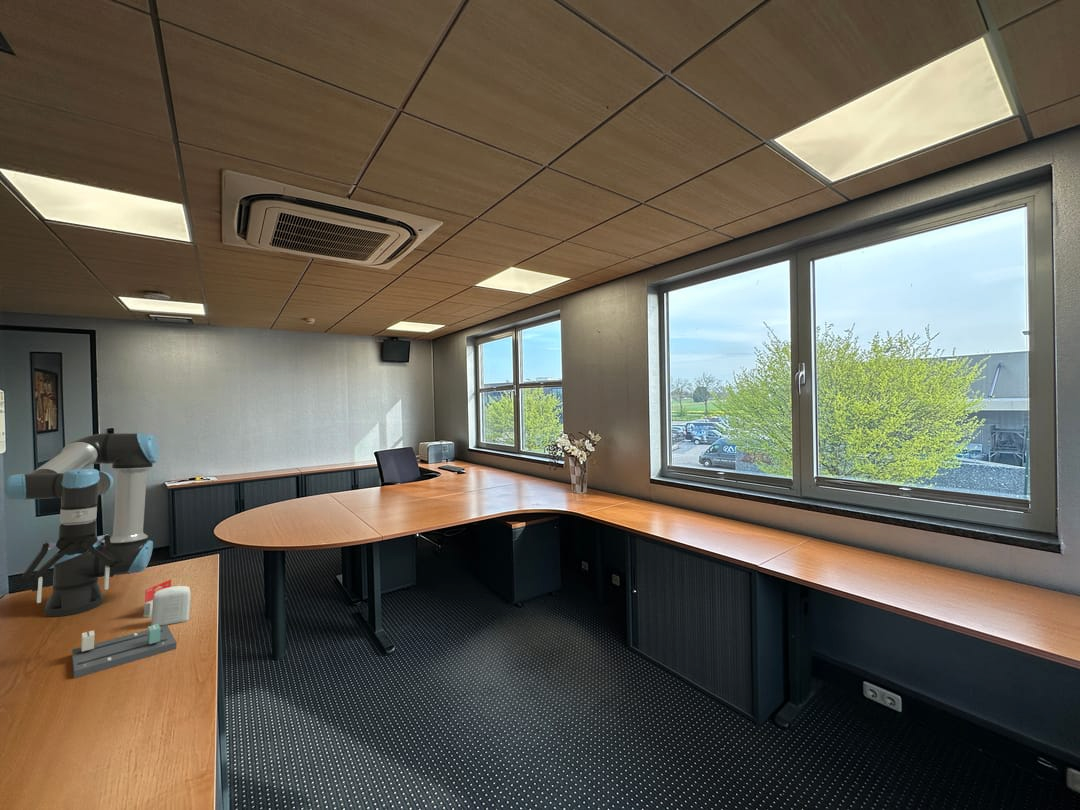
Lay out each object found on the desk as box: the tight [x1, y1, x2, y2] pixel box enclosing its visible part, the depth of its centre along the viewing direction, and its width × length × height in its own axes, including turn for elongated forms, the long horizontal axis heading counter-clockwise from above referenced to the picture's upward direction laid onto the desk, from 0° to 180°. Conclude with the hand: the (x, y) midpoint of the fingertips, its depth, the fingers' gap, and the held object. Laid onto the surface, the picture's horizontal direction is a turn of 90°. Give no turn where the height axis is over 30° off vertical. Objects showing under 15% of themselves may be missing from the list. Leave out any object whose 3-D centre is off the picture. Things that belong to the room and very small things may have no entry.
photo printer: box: [150, 585, 192, 627], centre depth 154 cm, size 10×4×12 cm, turn 123°
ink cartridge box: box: [142, 578, 172, 619], centre depth 163 cm, size 2×11×10 cm, turn 179°
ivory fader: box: [80, 630, 96, 652], centre depth 132 cm, size 4×2×5 cm, turn 49°
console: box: [71, 624, 177, 679], centre depth 135 cm, size 16×22×2 cm
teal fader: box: [147, 624, 161, 644], centre depth 137 cm, size 4×2×5 cm, turn 49°
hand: (73, 594), depth 129 cm, fingers open, 13 cm apart
